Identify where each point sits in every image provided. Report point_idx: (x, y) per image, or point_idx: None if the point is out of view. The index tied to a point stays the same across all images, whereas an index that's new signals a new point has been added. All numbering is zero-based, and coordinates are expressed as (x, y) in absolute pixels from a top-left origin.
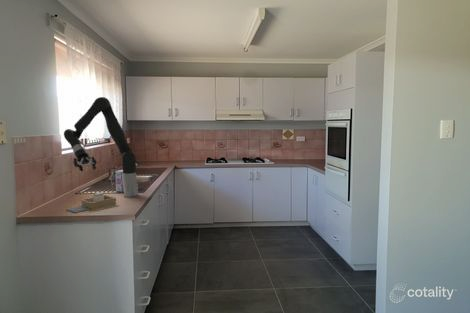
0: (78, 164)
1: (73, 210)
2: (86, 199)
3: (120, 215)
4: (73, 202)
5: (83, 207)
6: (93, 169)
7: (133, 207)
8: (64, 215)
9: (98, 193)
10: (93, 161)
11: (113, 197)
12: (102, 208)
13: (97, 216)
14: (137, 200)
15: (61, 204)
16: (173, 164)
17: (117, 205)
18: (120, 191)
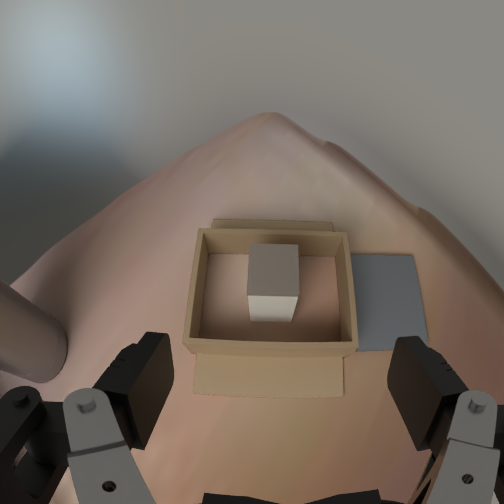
0: (496, 424)
1: (410, 288)
2: (327, 342)
3: (293, 124)
4: (330, 496)
5: (358, 306)
6: (169, 390)
7: (199, 161)
8: (446, 259)
9: (270, 272)
10: (19, 485)
11: (199, 245)
12: (296, 225)
13: (355, 161)
14: (101, 237)
15: (397, 493)
16: None
17: (219, 220)
18: (13, 468)
